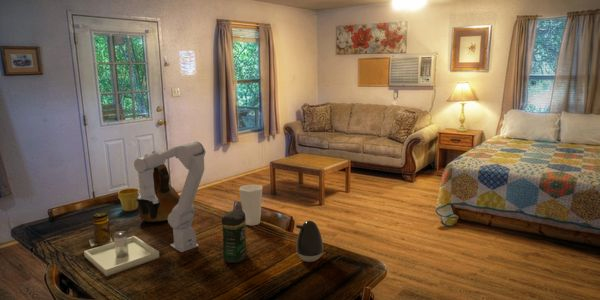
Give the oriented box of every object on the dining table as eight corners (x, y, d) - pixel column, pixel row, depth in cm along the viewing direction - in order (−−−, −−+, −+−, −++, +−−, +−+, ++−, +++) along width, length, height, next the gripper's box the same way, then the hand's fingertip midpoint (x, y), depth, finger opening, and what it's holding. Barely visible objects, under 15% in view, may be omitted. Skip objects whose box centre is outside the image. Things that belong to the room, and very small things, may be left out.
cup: (268, 221, 196) (267, 186, 193) (255, 228, 188) (253, 192, 184) (250, 217, 202) (248, 183, 199) (236, 224, 194) (234, 188, 190)
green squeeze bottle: (239, 265, 154) (237, 217, 150) (220, 262, 156) (217, 215, 152) (250, 254, 163) (248, 208, 159) (232, 251, 165) (229, 207, 161)
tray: (159, 257, 161) (158, 251, 161) (106, 276, 147) (105, 269, 147) (135, 241, 176) (134, 235, 176) (84, 257, 163) (84, 251, 162)
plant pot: (144, 208, 217) (142, 190, 215) (125, 213, 209) (123, 195, 207) (135, 204, 224) (133, 186, 222) (116, 209, 216) (114, 191, 214)
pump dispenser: (291, 255, 161) (291, 218, 158) (316, 251, 165) (316, 214, 161) (301, 267, 152) (301, 228, 148) (327, 262, 155) (327, 223, 152)
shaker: (131, 254, 162) (129, 232, 160) (120, 259, 159) (117, 237, 157) (124, 251, 165) (122, 230, 163) (113, 255, 161) (110, 234, 160)
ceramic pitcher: (165, 209, 215) (160, 152, 209) (191, 217, 203) (186, 157, 197) (131, 221, 199) (124, 160, 193) (156, 230, 188) (150, 165, 182)
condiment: (113, 241, 176) (110, 215, 174) (91, 246, 172) (87, 219, 169) (110, 236, 182) (107, 210, 180) (88, 240, 178) (85, 214, 175)
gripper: (129, 183, 176) (132, 214, 179) (145, 190, 166) (148, 223, 169) (145, 180, 181) (148, 210, 183) (161, 187, 171) (164, 218, 173)
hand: (149, 216), depth 176 cm, fingers open, 7 cm apart
